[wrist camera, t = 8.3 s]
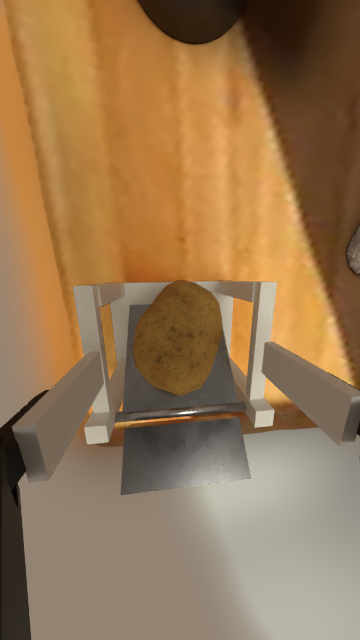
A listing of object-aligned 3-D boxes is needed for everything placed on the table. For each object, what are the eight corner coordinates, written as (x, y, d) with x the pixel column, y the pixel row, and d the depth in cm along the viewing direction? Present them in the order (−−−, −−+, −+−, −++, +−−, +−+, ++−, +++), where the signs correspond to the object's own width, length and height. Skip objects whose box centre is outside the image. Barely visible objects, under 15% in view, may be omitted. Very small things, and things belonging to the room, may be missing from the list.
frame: (109, 283, 26) (51, 287, 13) (232, 280, 28) (297, 282, 14) (120, 384, 30) (86, 468, 17) (227, 376, 32) (273, 447, 19)
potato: (122, 374, 20) (101, 361, 14) (164, 293, 25) (163, 258, 19) (195, 406, 19) (208, 407, 13) (223, 314, 24) (241, 284, 18)
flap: (129, 315, 27) (123, 302, 23) (216, 312, 28) (223, 299, 25) (118, 478, 18) (106, 496, 15) (245, 463, 20) (263, 476, 16)
